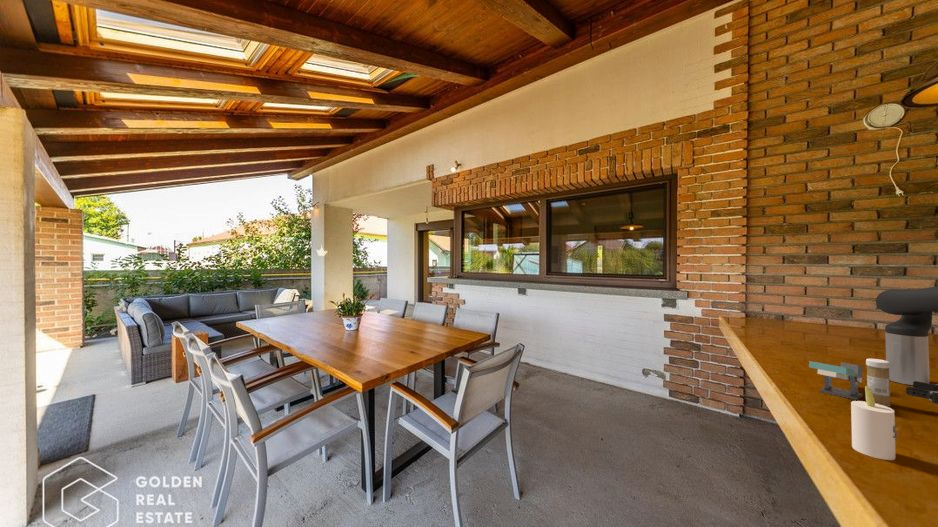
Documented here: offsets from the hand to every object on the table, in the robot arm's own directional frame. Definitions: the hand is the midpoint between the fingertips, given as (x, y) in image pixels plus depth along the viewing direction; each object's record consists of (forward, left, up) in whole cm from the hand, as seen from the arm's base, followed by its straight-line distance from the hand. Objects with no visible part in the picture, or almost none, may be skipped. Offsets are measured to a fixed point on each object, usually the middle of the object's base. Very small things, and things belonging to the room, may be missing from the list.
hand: (909, 387), depth 94 cm
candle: (+40, +1, -7) cm, 41 cm away
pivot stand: (-1, -14, -7) cm, 16 cm away
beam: (-1, -14, -2) cm, 14 cm away
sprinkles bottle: (0, -6, -7) cm, 9 cm away
